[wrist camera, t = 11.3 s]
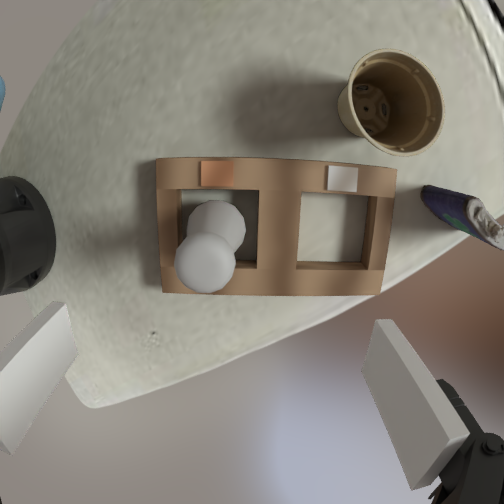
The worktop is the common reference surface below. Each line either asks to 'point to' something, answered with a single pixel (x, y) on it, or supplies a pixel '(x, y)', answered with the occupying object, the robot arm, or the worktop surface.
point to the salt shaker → (210, 246)
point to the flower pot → (393, 103)
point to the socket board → (280, 222)
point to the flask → (464, 214)
